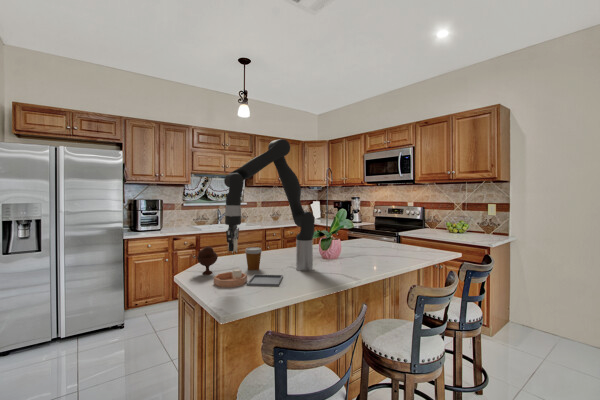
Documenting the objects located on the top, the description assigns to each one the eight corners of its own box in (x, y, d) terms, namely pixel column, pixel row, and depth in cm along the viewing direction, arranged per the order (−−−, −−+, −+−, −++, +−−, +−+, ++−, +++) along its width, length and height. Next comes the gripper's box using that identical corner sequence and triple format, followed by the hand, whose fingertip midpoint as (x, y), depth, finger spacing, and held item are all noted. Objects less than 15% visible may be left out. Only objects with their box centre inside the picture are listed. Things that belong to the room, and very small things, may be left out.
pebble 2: (234, 280, 146) (234, 269, 146) (242, 280, 146) (242, 269, 146) (231, 283, 142) (231, 271, 142) (240, 283, 141) (240, 271, 141)
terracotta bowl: (221, 278, 152) (221, 271, 152) (249, 279, 151) (249, 272, 151) (210, 287, 137) (210, 280, 137) (241, 288, 136) (241, 280, 136)
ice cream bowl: (221, 271, 165) (221, 244, 165) (210, 277, 155) (210, 248, 154) (204, 270, 168) (204, 243, 168) (192, 275, 158) (192, 247, 157)
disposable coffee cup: (259, 272, 164) (259, 250, 164) (242, 271, 166) (242, 250, 165) (263, 267, 174) (263, 247, 173) (248, 267, 175) (248, 246, 175)
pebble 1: (229, 249, 146) (229, 238, 146) (238, 249, 145) (238, 238, 145) (226, 251, 141) (226, 239, 141) (235, 251, 141) (236, 240, 141)
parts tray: (254, 277, 154) (254, 274, 154) (282, 278, 153) (282, 275, 153) (246, 286, 139) (246, 283, 139) (278, 287, 138) (278, 284, 138)
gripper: (229, 213, 150) (229, 247, 151) (220, 215, 136) (220, 252, 136) (244, 214, 150) (243, 247, 150) (236, 215, 136) (236, 253, 136)
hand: (232, 249), depth 143 cm, fingers closed on pebble 1, 4 cm apart
